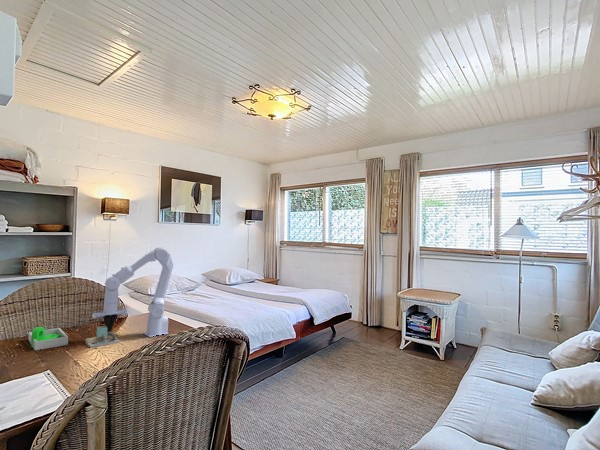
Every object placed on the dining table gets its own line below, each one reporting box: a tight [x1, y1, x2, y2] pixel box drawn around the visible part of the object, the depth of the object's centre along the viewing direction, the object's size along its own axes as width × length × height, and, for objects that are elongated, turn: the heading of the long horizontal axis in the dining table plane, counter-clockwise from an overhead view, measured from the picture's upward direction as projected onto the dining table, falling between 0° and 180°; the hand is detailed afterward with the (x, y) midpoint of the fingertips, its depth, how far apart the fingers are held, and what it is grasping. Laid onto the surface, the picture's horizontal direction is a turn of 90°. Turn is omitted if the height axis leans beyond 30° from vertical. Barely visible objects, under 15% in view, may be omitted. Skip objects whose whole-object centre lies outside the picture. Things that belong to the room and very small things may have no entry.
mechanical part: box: [30, 326, 60, 348], centre depth 147 cm, size 12×6×8 cm, turn 7°
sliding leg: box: [96, 325, 108, 341], centre depth 151 cm, size 4×7×5 cm, turn 47°
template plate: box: [86, 338, 120, 349], centre depth 148 cm, size 12×5×1 cm, turn 137°
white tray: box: [27, 327, 69, 351], centre depth 147 cm, size 12×18×4 cm, turn 47°
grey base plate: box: [84, 331, 119, 345], centre depth 151 cm, size 13×7×3 cm, turn 137°
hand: (109, 330), depth 155 cm, fingers closed
